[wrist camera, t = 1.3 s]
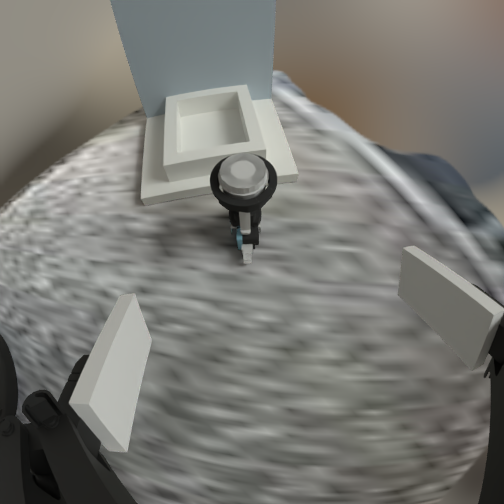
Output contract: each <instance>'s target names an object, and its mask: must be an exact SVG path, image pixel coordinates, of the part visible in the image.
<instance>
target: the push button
mask: <svg viewBox="0 0 504 504" xmlns="http://www.w3.org/2000/svg"><path fill="white" fill-rule="evenodd" d="M267 182H268V187H267V188H266V190H265V187H266V183H267ZM220 185H221V186H222V190H223V192H222V191H221V190H220V188H219V186H220ZM210 186H211V190H212V192H213V194H214V196H215V197H216V198H217V199H218V201H219V203H220V204H221V205H222V206H224V207H225V208H226V209H228V210H229V218H230V223H231V234H232V228H236V227H237V244H238V250H242V254H243V260H244V264H251V263H252V258H251V254H253V249H255V245H259V231H258V228H259V230H260V232H261V223H260V221H261V208H262V207H263V206H264V204H265V203H266V202H267V201H268V200H269V199H270V198H271V197H272V195H273V193H274V192H275V189H276V186H277V173H276V170H275V168H274V167H273V165H272V164H271V163H270V162H269V161H268V160H266V159H265V158H263V157H261V156H258V155H255V154H250V153H237V154H233V155H230V156H228V157H226V158H224V159H222V160H221V161H219V162H218V163H217V164H216V165H215V167H214V168H213V170H212V172H211V175H210ZM246 260H249V261H246Z"/></svg>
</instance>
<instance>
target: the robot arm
mask: <svg viewBox="0 0 504 504" xmlns="http://www.w3.org/2000/svg"><path fill="white" fill-rule="evenodd" d="M398 296H400V297H401V298H402V299H403V300H404V301H405V302H406V303H407V304H408V305H409V306H410V307H411V308H412V309H413V310H414V311H415V312H416V313H417V314H418V315H419V316H420V317H421V318H422V319H423V320H424V321H425V322H426V323H427V324H428V325H429V326H430V327H431V328H432V329H433V330H434V331H435V332H436V333H437V334H438V335H439V336H440V337H441V338H442V339H443V340H444V342H445V343H446V344H447V345H448V346H449V347H450V348H451V349H452V350H453V351H454V352H455V353H456V354H457V355H458V356H459V358H460V359H461V360H462V361H463V362H464V363H465V364H466V365H467V366H468V367H469V368H470V370H471V371H473V370H475V369H476V368H478V367H480V366H481V365H483V364H484V362H485V359H486V357H487V355H488V353H489V354H490V355H491V356H492V359H491V361H490V363H489V365H488V367H487V369H486V371H485V373H484V378H486V376H487V374H488V372H490V376H489V378H490V379H491V414H490V433H489V444H488V453H487V461H486V468H485V474H484V480H483V485H482V491H481V494H480V499H479V503H478V504H504V306H503V305H502V304H501V303H499V302H498V301H497V300H495V299H494V298H493V297H491V296H490V295H489V294H487V293H486V292H484V291H483V290H482V289H481V288H479V287H478V286H476V285H474V284H472V283H469V282H468V281H466V280H465V279H464V278H462V277H461V276H459V275H458V274H456V273H455V272H453V271H452V270H450V269H449V268H448V267H446V266H445V265H443V264H442V263H440V262H439V261H437V260H436V259H434V258H432V257H431V256H429V255H428V254H426V253H425V252H423V251H422V250H420V249H418V248H417V247H415V246H409V247H404V248H402V260H401V271H400V280H399V288H398ZM151 342H152V339H151V337H150V334H149V331H148V329H147V326H146V323H145V321H144V318H143V315H142V312H141V310H140V307H139V304H138V301H137V298H136V295H135V293H133V294H126V295H120V297H119V299H118V300H117V302H116V304H115V306H114V308H113V310H112V312H111V314H110V315H109V317H108V319H107V321H106V323H105V325H104V327H103V329H102V331H101V333H100V335H99V337H98V339H97V341H96V343H95V345H94V347H93V349H92V351H91V354H90V355H83V356H82V357H81V358H80V359H79V360H78V361H77V363H76V364H75V366H74V368H73V370H72V372H71V373H72V374H70V376H69V378H68V382H67V383H66V385H65V387H64V389H63V391H62V393H61V396H60V398H59V400H58V402H57V401H56V399H55V398H54V397H53V395H52V394H51V393H50V392H49V391H47V390H38V391H36V392H33V393H32V394H30V395H29V396H28V397H27V398H26V400H25V401H24V403H23V406H22V413H23V414H24V415H25V416H26V417H27V419H28V420H29V421H30V422H31V423H29V424H22V423H21V421H20V420H19V419H18V418H17V417H15V414H16V409H17V401H18V389H17V378H16V372H15V367H14V363H13V360H12V356H11V353H10V351H9V348H8V346H7V344H6V342H5V340H4V339H3V337H2V336H1V335H0V504H137V503H136V501H135V500H134V499H133V498H132V496H131V495H130V494H129V492H128V491H127V490H126V488H125V487H124V486H123V484H122V483H121V481H120V480H119V479H118V477H117V476H116V474H115V473H114V471H113V470H112V468H111V467H110V465H109V464H108V462H107V461H106V459H105V458H104V456H103V455H102V454H101V453H100V452H99V449H100V445H101V443H102V444H103V445H104V447H105V448H106V449H107V450H108V451H114V452H127V451H128V446H129V440H130V435H131V430H132V424H133V419H134V415H135V410H136V405H137V400H138V396H139V391H140V387H141V383H142V378H143V374H144V370H145V366H146V362H147V358H148V354H149V350H150V346H151Z"/></svg>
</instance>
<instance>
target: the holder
mask: <svg viewBox="0 0 504 504" xmlns="http://www.w3.org/2000/svg"><path fill="white" fill-rule="evenodd" d="M110 1H111V5H112V9H113V12H114V16H115V19H116V23H117V26H118V30H119V33H120V37H121V40H122V44H123V47H124V50H125V53H126V57H127V59H128V63H129V66H130V69H131V72H132V75H133V79H134V81H135V85H136V88H137V90H138V94H139V96H140V99H141V102H142V105H143V108H144V111H145V114H146V117H147V122H146V131H145V142H144V153H143V166H142V183H141V200H142V202H143V204H144V205H145V206H147V205H152V204H157V203H162V202H167V201H172V200H177V199H183V198H188V197H194V196H200V195H206V194H211V193H213V192H212V190H211V186H210V175H211V172H212V170H213V168H214V167H215V165H216V164H217V163H218V162H219V161H221V160H222V159H224V158H226V157H228V156H230V155H233V154H237V153H250V154H255V155H258V156H261V157H263V158H265V159H266V160H268V161H269V162H270V163H271V164H272V165H273V167H274V168H275V170H276V173H277V184H280V183H288V182H296V181H297V179H298V171H297V168H296V165H295V162H294V159H293V156H292V153H291V150H290V148H289V145H288V142H287V139H286V136H285V134H284V131H283V128H282V126H281V123H280V120H279V118H278V115H277V112H276V110H275V107H274V105H273V102H272V99H271V93H272V73H273V53H274V30H275V9H276V0H110ZM266 185H268V182H267V183H266ZM219 188H220V190H221V191H222V192H223V190H222V186H221V185H220V186H219Z"/></svg>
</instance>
